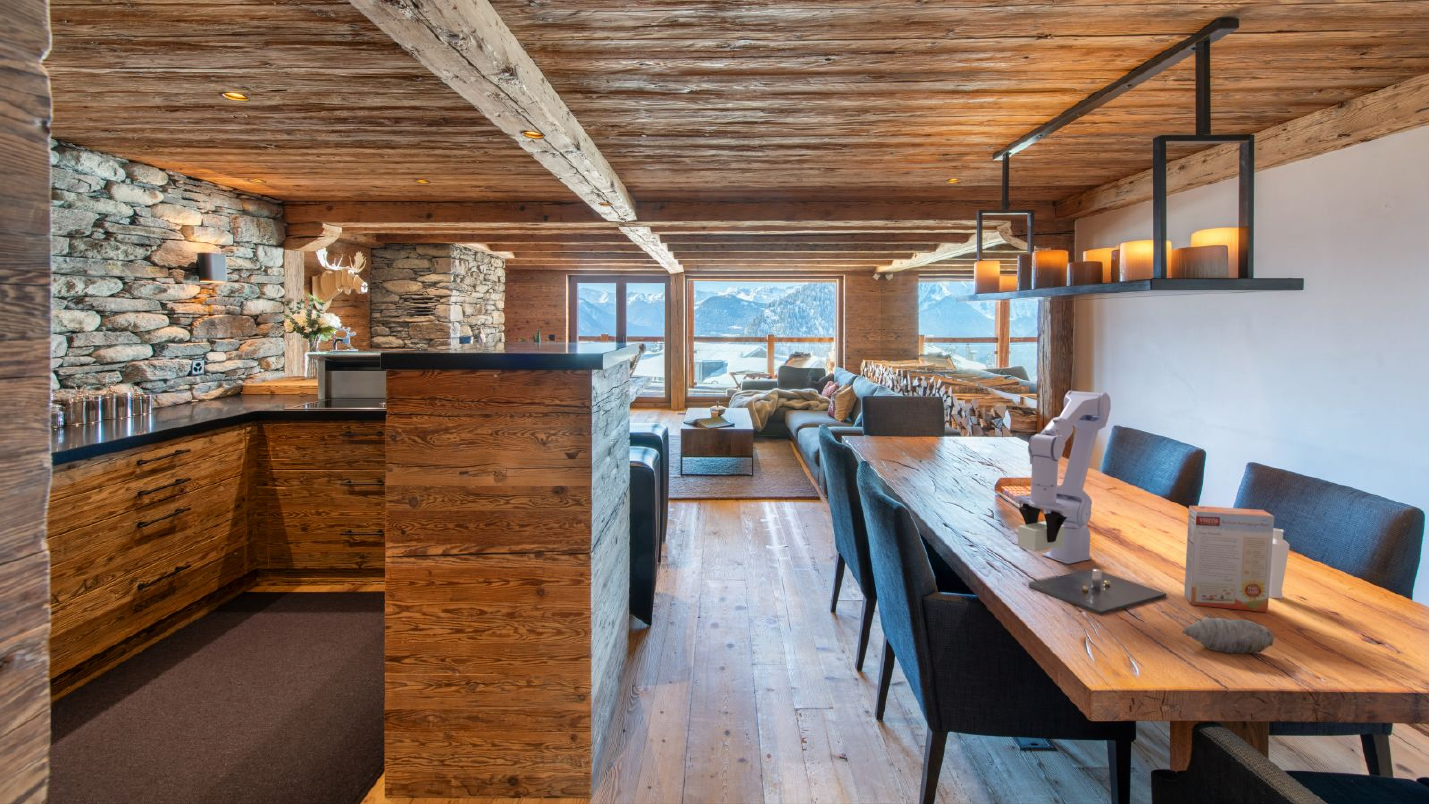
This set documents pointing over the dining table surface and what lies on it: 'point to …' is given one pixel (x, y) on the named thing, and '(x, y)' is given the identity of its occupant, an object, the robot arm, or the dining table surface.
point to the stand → (1097, 591)
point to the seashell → (1230, 635)
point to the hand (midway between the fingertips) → (1041, 538)
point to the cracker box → (1229, 558)
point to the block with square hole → (1038, 537)
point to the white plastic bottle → (1278, 563)
